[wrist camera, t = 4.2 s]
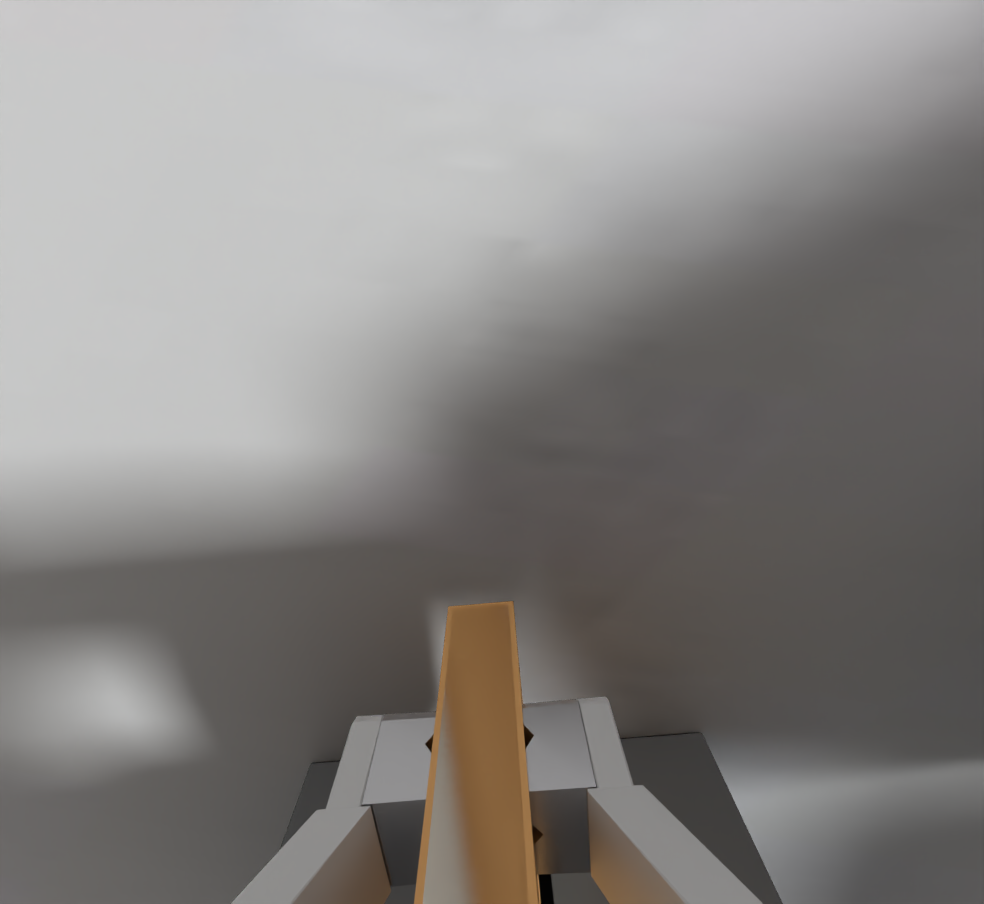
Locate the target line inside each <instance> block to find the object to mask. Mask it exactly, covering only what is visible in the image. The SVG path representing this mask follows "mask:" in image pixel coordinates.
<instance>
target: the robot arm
mask: <svg viewBox="0 0 984 904" xmlns="http://www.w3.org/2000/svg"><path fill="white" fill-rule="evenodd" d="M522 714H523V726H524V737H525V747H526V749H525V751H526V763H527V775H528V788H529V799H530V809H531V819H532V827H533V839H534V850H535V860H536V871H537V875H539V874H564V873H588V872H591V876H592V878H593V879H594V881H595V882H596V884H597V885H598V887H599V888H600V890H601V891H602V893H603V894H604V896H605V897H606V899H607V900H608V902H609V903H610V904H763V903H762V902H761V901H760V900H759V899H758V898H757V897H756V896H755V895H754V894H753V893H752V892H751V891H750V890H749V889H748V888H747V887H746V886H745V885H744V884H743V883H742V882H741V881H740V880H739V879H738V878H737V877H736V876H735V875H734V874H733V873H732V872H731V871H730V870H729V869H728V868H727V867H725V866H724V865H723V864H722V863H721V862H720V861H719V860H718V859H717V858H716V857H715V856H714V855H713V854H712V853H711V852H710V851H709V850H708V849H707V848H706V847H705V846H704V845H703V844H702V843H701V842H700V841H699V840H698V839H697V838H696V837H695V836H694V835H693V834H692V833H691V832H690V831H689V830H688V829H687V828H686V827H685V826H684V825H683V824H682V823H681V822H680V821H679V820H678V819H677V818H676V817H675V816H674V815H673V814H672V813H671V812H670V811H669V810H668V809H667V808H666V807H665V806H664V805H663V804H662V803H661V802H660V801H659V800H658V799H657V798H656V797H655V796H654V795H653V794H652V793H650V792H649V791H648V790H647V789H646V788H645V787H644V786H643V785H633V782H632V778H631V775H630V771H629V768H628V764H627V761H626V758H625V754H624V751H623V747H622V744H621V740H620V737H619V734H618V730H617V727H616V723H615V720H614V716H613V713H612V710H611V706H610V703H609V700H608V699H607V698H606V697H594V698H583V699H578V700H576V699H570V700H559V701H548V702H537V703H526V704H522ZM435 718H436V711H435V712H416V713H397V714H385V715H370V716H357V717H356V719H355V720H354V722H353V723H352V725H351V728H350V731H349V734H348V738H347V741H346V744H345V747H344V751H343V754H342V757H341V760H340V764H339V767H338V770H337V774H336V777H335V780H334V783H333V787H332V790H331V793H330V796H329V800H328V803H327V806H326V809H321V810H316V811H315V812H314V813H313V814H312V815H311V817H310V818H309V819H308V820H307V821H306V822H305V823H304V824H303V825H302V826H301V827H300V829H299V830H298V831H297V832H296V833H295V834H294V835H293V836H292V837H291V838H290V839H289V841H288V842H287V843H286V844H285V845H284V846H283V847H282V848H281V849H280V850H279V851H278V853H277V854H276V855H275V856H274V857H273V858H272V859H271V860H270V861H269V862H268V863H267V865H266V866H265V867H264V868H263V869H262V870H261V871H260V872H259V873H258V874H257V875H256V877H255V878H254V879H253V880H252V881H251V882H250V883H249V884H248V885H247V886H246V887H245V889H244V890H243V891H242V892H241V893H240V894H239V895H238V896H237V897H236V898H235V899H234V901H233V902H232V903H231V904H384V903H385V901H386V899H387V898H388V896H389V894H390V892H391V888H390V887H395V886H405V885H414V884H416V881H417V873H418V864H419V856H420V847H421V838H422V830H423V821H424V812H425V804H426V795H427V787H428V778H429V769H430V761H431V752H432V743H433V735H434V726H435Z"/></svg>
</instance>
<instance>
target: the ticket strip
mask: <svg viewBox="0 0 984 904" xmlns="http://www.w3.org/2000/svg"><path fill="white" fill-rule="evenodd" d="M522 704H523V700H522V689H521V679H520V668H519V657H518V647H517V636H516V626H515V615H514V605H513V601H507V602H495V603H483V604H472V605H460V606H448V614H447V623H446V631H445V640H444V649H443V657H442V666H441V674H440V683H439V692H438V700H437V709H436V718H435V726H434V735H433V743H432V752H431V761H430V769H429V778H428V787H427V795H426V804H425V812H424V821H423V830H422V838H421V847H420V856H419V864H418V873H417V881H416V890H415V899H414V904H541V901H540V889H539V877H538V875H537V871H536V860H535V850H534V839H533V827H532V819H531V809H530V799H529V788H528V775H527V763H526V751H525V749H526V747H525V737H524V726H523V714H522Z"/></svg>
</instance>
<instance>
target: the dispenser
mask: <svg viewBox="0 0 984 904" xmlns="http://www.w3.org/2000/svg"><path fill="white" fill-rule="evenodd" d="M620 740H621V744H622V747H623V751H624V754H625V758H626V761H627V764H628V768H629V771H630V775H631V778H632V782H633V785H643V786H644V787H645V788H646V789H647V790H648V791H649V792H650V793H652V794H653V795H654V796H655V797H656V798H657V799H658V800H659V801H660V802H661V803H662V804H663V805H664V806H665V807H666V808H667V809H668V810H669V811H670V812H671V813H672V814H673V815H674V816H675V817H676V818H677V819H678V820H679V821H680V822H681V823H682V824H683V825H684V826H685V827H686V828H687V829H688V830H689V831H690V832H691V833H692V834H693V835H694V836H695V837H696V838H697V839H698V840H699V841H700V842H701V843H702V844H703V845H704V846H705V847H706V848H707V849H708V850H709V851H710V852H711V853H712V854H713V855H714V856H715V857H716V858H717V859H718V860H719V861H720V862H721V863H722V864H723V865H724V866H725V867H727V868H728V869H729V870H730V871H731V872H732V873H733V874H734V875H735V876H736V877H737V878H738V879H739V880H740V881H741V882H742V883H743V884H744V885H745V886H746V887H747V888H748V889H749V890H750V891H751V892H752V893H753V894H754V895H755V896H756V897H757V898H758V899H759V900H760V901H761V902H762V903H763V904H782V901H781V899H780V897H779V895H778V893H777V891H776V889H775V887H774V885H773V882H772V880H771V878H770V876H769V874H768V872H767V870H766V868H765V865H764V863H763V861H762V859H761V857H760V855H759V853H758V851H757V848H756V846H755V844H754V842H753V840H752V838H751V836H750V834H749V832H748V829H747V827H746V825H745V823H744V821H743V819H742V817H741V815H740V812H739V810H738V808H737V806H736V804H735V802H734V800H733V798H732V796H731V793H730V791H729V789H728V787H727V785H726V783H725V781H724V779H723V776H722V774H721V772H720V770H719V768H718V766H717V764H716V762H715V759H714V757H713V755H712V753H711V751H710V749H709V747H708V745H707V743H706V740H705V738H704V736H703V734H702V733H693V734H680V735H667V736H655V737H642V738H629V739H620ZM339 764H340V761H339V762H326V763H313V764H311V765H310V768H309V770H308V773H307V776H306V779H305V782H304V784H303V787H302V790H301V793H300V795H299V798H298V801H297V804H296V806H295V809H294V812H293V815H292V818H291V820H290V823H289V826H288V829H287V831H286V834H285V837H284V840H283V843H282V845H281V848H282V847H283V846H284V845H285V844H286V843H287V842H288V841H289V839H290V838H291V837H292V836H293V835H294V834H295V833H296V832H297V831H298V830H299V829H300V827H301V826H302V825H303V824H304V823H305V822H306V821H307V820H308V819H309V818H310V817H311V815H312V814H313V813H314V812H315V811H316V810H321V809H326V806H327V803H328V800H329V796H330V793H331V790H332V787H333V783H334V780H335V777H336V774H337V770H338V767H339ZM281 848H280V849H281ZM538 877H539V889H540V901H541V904H610V903H609V902H608V900H607V899H606V897H605V896H604V894H603V893H602V891H601V890H600V888H599V887H598V885H597V884H596V882H595V881H594V879H593V878H592V876H591V872H588V873H564V874H539V875H538ZM390 888H391V892H390V894H389V896H388V898H387V899H386V901H385V903H384V904H414V899H415V890H416V884H414V885H405V886H395V887H390Z"/></svg>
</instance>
